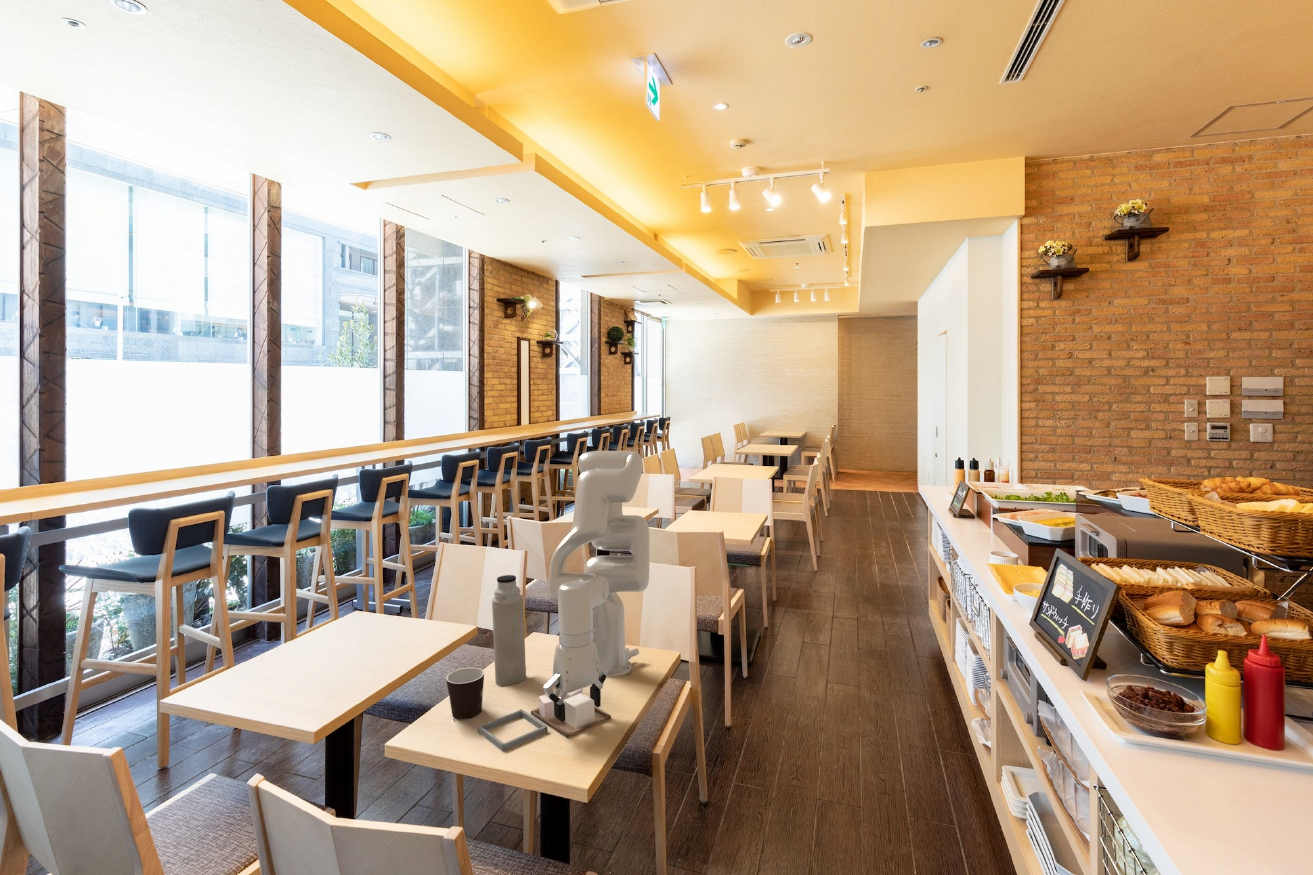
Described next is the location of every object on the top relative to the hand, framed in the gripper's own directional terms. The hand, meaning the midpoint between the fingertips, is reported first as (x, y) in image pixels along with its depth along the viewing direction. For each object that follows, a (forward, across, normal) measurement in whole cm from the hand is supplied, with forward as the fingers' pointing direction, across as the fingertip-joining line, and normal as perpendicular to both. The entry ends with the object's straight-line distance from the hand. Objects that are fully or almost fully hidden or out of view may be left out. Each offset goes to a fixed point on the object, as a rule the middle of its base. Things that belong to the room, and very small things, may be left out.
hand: (578, 712), depth 144 cm
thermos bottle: (+3, -2, -33) cm, 33 cm away
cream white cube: (+2, 0, 0) cm, 3 cm away
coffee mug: (+4, +14, -24) cm, 28 cm away
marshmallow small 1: (+2, -4, -8) cm, 9 cm away
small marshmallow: (+2, +2, -8) cm, 9 cm away
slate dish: (+4, +12, -7) cm, 15 cm away
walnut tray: (+3, 0, -4) cm, 5 cm away
